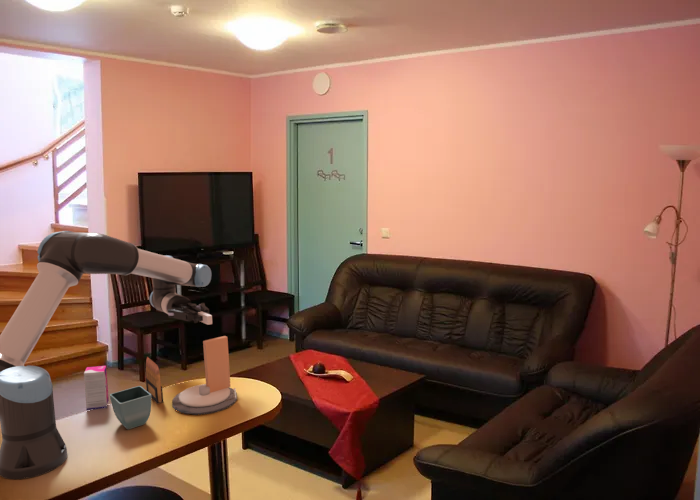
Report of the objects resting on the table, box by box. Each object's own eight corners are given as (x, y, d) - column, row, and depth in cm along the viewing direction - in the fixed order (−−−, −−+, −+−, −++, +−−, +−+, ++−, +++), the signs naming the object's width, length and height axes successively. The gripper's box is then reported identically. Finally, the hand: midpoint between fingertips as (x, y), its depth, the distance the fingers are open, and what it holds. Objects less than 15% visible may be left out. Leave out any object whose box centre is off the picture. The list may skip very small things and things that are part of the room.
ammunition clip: (163, 402, 181) (160, 364, 179) (157, 404, 180) (154, 366, 178) (152, 391, 189) (149, 355, 187) (146, 393, 188) (143, 356, 186)
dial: (192, 411, 170) (188, 354, 167) (170, 396, 182) (166, 342, 179) (241, 396, 180) (238, 341, 177) (217, 382, 192) (214, 331, 189)
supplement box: (107, 408, 178) (103, 371, 176) (86, 410, 176) (82, 373, 174) (109, 400, 183) (106, 364, 181) (89, 403, 182) (85, 367, 180)
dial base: (158, 407, 178) (157, 394, 177) (203, 384, 194) (203, 373, 193) (206, 420, 168) (205, 406, 167) (249, 395, 184) (249, 383, 184)
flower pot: (122, 435, 160) (119, 403, 159) (111, 424, 167) (108, 393, 166) (154, 425, 166) (152, 394, 164) (142, 414, 173) (140, 385, 171)
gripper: (195, 313, 206) (229, 327, 188) (159, 320, 197) (190, 336, 180) (194, 291, 204) (228, 304, 187) (157, 298, 196) (189, 312, 178)
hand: (209, 320), depth 183 cm, fingers closed
